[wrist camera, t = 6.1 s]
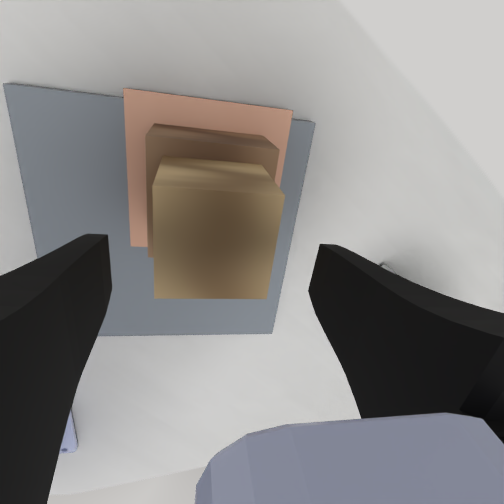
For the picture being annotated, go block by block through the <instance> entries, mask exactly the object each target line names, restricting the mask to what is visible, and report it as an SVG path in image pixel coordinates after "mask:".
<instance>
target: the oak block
mask: <svg viewBox="0 0 504 504" xmlns="http://www.w3.org/2000/svg"><path fill="white" fill-rule="evenodd" d="M152 193H153V255H154V299H267V294H268V289H269V283H270V278H271V272H272V266H273V261H274V255H275V250H276V244H277V238H278V233H279V227H280V222H281V216H282V211H283V205H284V199H285V194H284V193H283V192H282V191H281V189H280V188H279V187H278V185H277V184H276V183H275V182H274V180H273V179H272V178H271V176H270V175H269V174H268V172H267V171H266V170H265V169H264V167H263V166H262V165H261V164H250V163H239V162H228V161H217V160H206V159H194V158H183V157H172V156H163V157H162V160H161V162H160V165H159V168H158V171H157V174H156V177H155V180H154V183H153V185H152Z"/></svg>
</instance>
